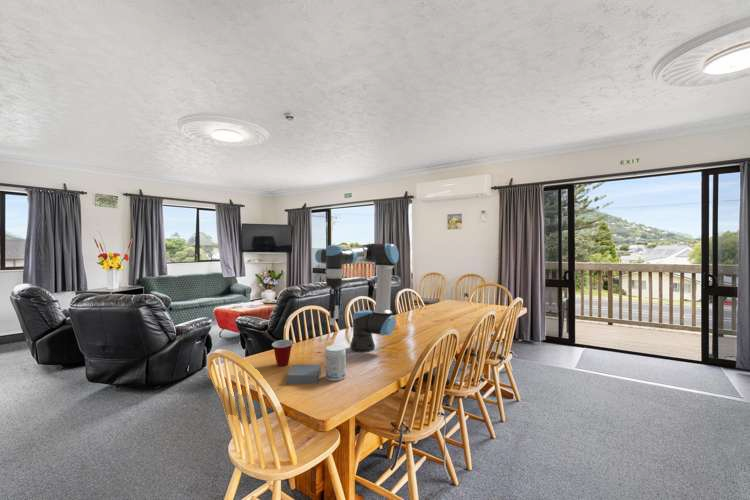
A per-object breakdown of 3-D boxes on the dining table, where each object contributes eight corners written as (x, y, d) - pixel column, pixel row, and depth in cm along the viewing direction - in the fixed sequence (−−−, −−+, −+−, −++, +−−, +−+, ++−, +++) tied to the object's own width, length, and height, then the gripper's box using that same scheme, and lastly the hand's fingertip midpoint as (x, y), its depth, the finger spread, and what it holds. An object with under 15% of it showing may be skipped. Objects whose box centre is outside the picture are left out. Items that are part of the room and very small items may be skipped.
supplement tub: (338, 372, 172) (338, 343, 172) (349, 378, 165) (349, 347, 165) (321, 377, 166) (321, 346, 166) (332, 383, 159) (332, 351, 158)
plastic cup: (267, 367, 180) (267, 344, 179) (279, 360, 190) (279, 338, 190) (285, 369, 176) (285, 346, 176) (296, 362, 186) (296, 340, 186)
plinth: (321, 372, 172) (321, 364, 172) (316, 383, 158) (316, 375, 158) (293, 372, 172) (293, 364, 172) (286, 383, 158) (286, 375, 158)
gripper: (329, 275, 178) (329, 316, 178) (322, 280, 153) (322, 327, 153) (344, 275, 178) (344, 316, 178) (339, 280, 153) (339, 327, 153)
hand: (334, 321), depth 166 cm, fingers open, 13 cm apart
